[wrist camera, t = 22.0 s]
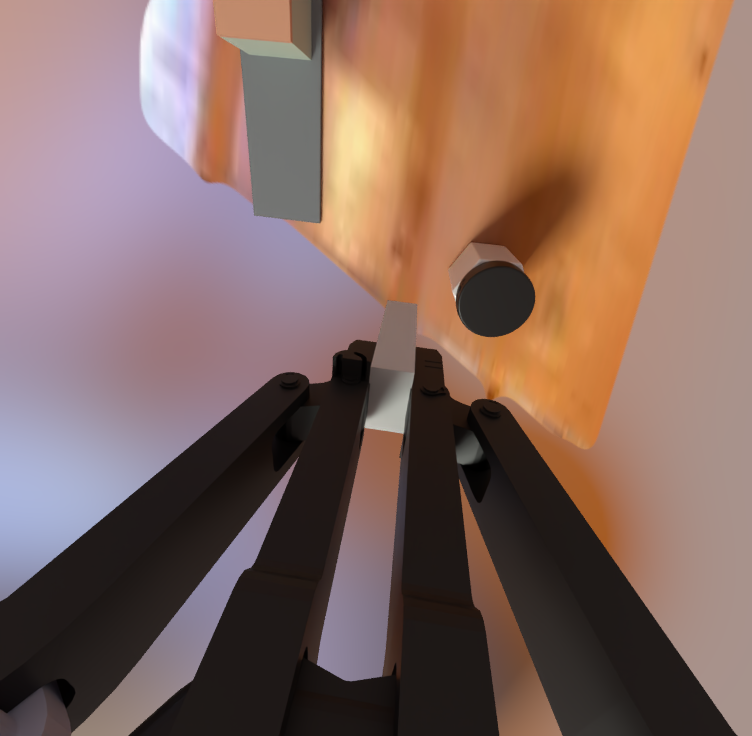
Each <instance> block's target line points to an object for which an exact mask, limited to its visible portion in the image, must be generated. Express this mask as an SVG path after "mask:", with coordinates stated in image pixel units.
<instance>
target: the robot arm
mask: <svg viewBox="0 0 752 736" xmlns="http://www.w3.org/2000/svg"><path fill="white" fill-rule="evenodd" d="M416 325H417V304H412V303H405V302H397V301H389V300H388V301H387V305H386V309H385V313H384V317H383V321H382V324H381V328H380V333H379V336H378V340H377V342H370V341H362V340H356V341H354V342H353V343H351V344H350V345H349V348H348V350H344V351H340V352H338V353H336V354H335V355H334V356H333V371H332V378H331V381H328V382H325V383H318V384H317V383H316V384H309V380H308V378H307V377H306V376H304V375H302V374H300V373H294V372H287V373H283V374H279V375H277V376H275V377H273V378H272V379H271V380H270V381H268V382H267V383H266V384H265V385H264V386H262V387H261V388H260V389H259V390H258V391H256V392H255V393H254V394H253V395H251V396H250V397H249V398H248V399H247V400H245V401H244V402H243V403H242V404H241V405H239V406H238V407H237V408H236V409H235V410H233V411H232V412H231V413H230V414H229V415H227V416H226V417H225V418H224V419H223V420H221V421H220V422H219V423H218V424H216V425H215V426H214V427H213V428H212V429H211V430H209V431H208V432H207V433H206V434H204V435H203V436H202V437H201V438H200V439H198V440H197V441H196V442H195V443H194V444H192V445H191V446H190V447H189V448H188V449H186V450H185V451H184V452H183V453H181V454H180V455H179V456H178V457H177V458H175V459H174V460H173V461H172V462H171V463H169V464H168V465H167V466H166V467H165V468H163V469H162V470H161V471H160V472H158V473H157V474H156V475H155V476H154V477H152V478H151V479H150V480H149V481H148V482H146V483H145V484H144V485H143V486H142V487H140V488H139V489H138V490H137V491H135V492H134V493H133V494H132V495H131V496H129V497H128V498H127V499H126V500H125V501H123V502H122V503H121V504H120V505H119V506H117V507H116V508H115V509H114V510H113V511H111V512H110V513H109V514H108V515H106V516H105V517H104V518H103V519H102V520H100V521H99V522H98V523H97V524H96V525H94V526H93V527H92V528H91V529H90V530H88V531H87V532H86V533H85V534H83V535H82V536H81V537H80V538H79V539H77V540H76V541H75V542H74V543H73V544H71V545H70V546H69V547H68V548H67V549H65V550H64V551H63V552H62V553H61V554H59V555H58V556H57V557H56V558H54V559H53V560H52V561H51V562H50V563H48V564H47V565H46V566H45V567H44V568H42V569H41V570H40V571H39V572H38V573H37V574H35V575H34V576H33V577H32V578H30V579H29V580H28V581H27V582H26V583H24V584H23V585H22V586H21V587H19V588H18V589H17V590H16V591H15V592H13V593H12V594H11V595H10V596H9V597H7V598H6V599H4V600H2V601H0V736H71V733H72V732H73V731H74V730H75V729H76V728H77V727H78V726H80V725H81V724H82V723H83V722H84V721H85V720H86V719H87V718H88V717H89V716H90V715H91V714H92V713H93V712H94V711H95V709H97V708H98V706H99V705H100V704H101V703H102V702H103V701H104V700H105V699H106V698H107V697H108V696H109V695H110V694H111V693H112V692H113V691H114V690H115V689H116V688H117V686H118V685H119V684H120V683H121V682H122V680H123V679H124V678H125V677H126V676H127V674H128V673H129V672H130V671H131V670H132V668H133V667H134V666H135V665H136V664H137V663H138V661H139V660H140V659H141V658H142V656H143V655H144V653H146V651H147V650H148V649H149V647H150V646H151V645H152V644H153V642H154V641H155V640H156V638H157V637H158V636H159V635H160V633H161V632H162V631H163V630H164V628H165V627H166V626H167V624H168V623H169V622H170V620H171V619H172V618H173V617H174V615H175V614H176V613H177V612H178V610H179V609H180V608H181V607H182V605H183V604H184V603H185V601H186V600H187V599H188V598H189V596H190V595H191V594H192V592H193V591H194V590H195V589H196V587H197V586H198V585H199V583H200V582H201V581H202V580H203V578H204V577H205V576H206V574H207V573H208V572H209V571H210V570H211V568H212V567H213V566H214V564H215V563H216V562H217V561H218V559H219V558H220V557H221V555H222V554H223V553H224V552H225V550H226V549H227V548H228V546H229V545H230V544H231V542H232V541H233V540H234V539H235V538H236V536H237V535H238V533H239V532H240V531H241V530H242V529H243V527H244V526H245V525H246V523H247V522H248V521H249V520H250V518H251V517H252V516H253V515H254V513H255V512H256V511H257V509H258V508H259V507H260V506H261V504H262V503H263V502H264V500H265V499H266V498H267V497H268V495H269V494H270V493H271V491H272V490H273V489H274V488H275V486H276V485H277V484H278V483H279V481H280V480H281V479H282V478H283V476H284V475H285V474H286V472H287V471H288V470H289V469H290V467H291V466H292V465H293V463H294V462H295V461H296V460H297V458H298V457H299V458H298V460H297V463H296V465H295V467H294V470H293V472H292V475H291V477H290V479H289V482H288V484H287V487H286V489H285V492H284V494H283V496H282V499H281V501H280V504H279V506H278V508H277V511H276V513H275V516H274V518H273V521H272V523H271V525H270V528H269V530H268V533H267V535H266V537H265V540H264V542H263V545H262V547H261V550H260V552H259V554H258V556H257V559H256V561H255V563H254V565H253V566H252V567H251V568H249V569H246V570H244V572H243V573H242V574H241V576H240V577H239V579H238V581H237V583H236V585H235V587H234V589H233V591H232V594H231V595H230V598H229V600H228V602H227V604H226V607H225V609H224V611H223V614H222V616H221V618H220V620H219V623H218V625H217V627H216V629H215V632H214V634H213V636H212V639H211V641H210V643H209V645H208V648H207V650H206V652H205V654H204V657H203V659H202V661H201V663H200V666H199V668H198V670H197V673H196V675H195V677H194V679H193V681H191V682H190V683H188V684H187V685H186V686H184V687H183V688H182V689H180V690H179V691H178V692H177V693H175V694H174V695H173V696H172V697H171V698H170V699H168V700H167V701H166V702H165V703H164V704H163V705H162V706H161V707H160V708H158V709H157V710H156V711H155V712H154V713H153V714H152V715H151V716H150V717H148V718H147V719H146V720H145V721H144V722H143V723H142V724H141V725H140V726H138V727H137V728H136V729H135V730H134V731H133V732H132V733H131V734H130V735H129V736H499V730H498V722H497V715H496V707H495V700H494V692H493V684H492V677H491V669H490V662H489V653H488V646H487V638H486V631H485V626H484V621H483V617H482V615H481V612H480V610H478V609H477V608H476V607H474V604H473V600H472V594H471V586H470V577H469V567H468V558H467V549H466V540H465V531H464V521H463V513H462V503H461V494H460V484H459V479H460V482H461V484H462V486H463V489H464V492H465V494H466V497H467V499H468V502H469V504H470V507H471V509H472V512H473V514H474V517H475V519H476V521H477V524H478V526H479V529H480V531H481V534H482V536H483V539H484V541H485V544H486V546H487V549H488V551H489V554H490V556H491V559H492V561H493V564H494V566H495V569H496V571H497V574H498V576H499V579H500V581H501V583H502V586H503V589H504V591H505V593H506V596H507V598H508V601H509V604H510V606H511V609H512V611H513V613H514V616H515V618H516V621H517V623H518V626H519V628H520V631H521V633H522V636H523V638H524V641H525V643H526V646H527V648H528V651H529V653H530V656H531V658H532V661H533V663H534V666H535V668H536V671H537V673H538V676H539V678H540V681H541V683H542V686H543V688H544V691H545V693H546V695H547V698H548V700H549V703H550V705H551V708H552V710H553V713H554V715H555V718H556V720H557V723H558V725H559V728H560V730H561V732H562V735H563V736H737V735H736V734H735V733H734V731H733V730H732V729H731V727H730V726H729V724H728V723H727V721H726V720H725V719H724V717H723V716H722V714H721V713H720V711H719V710H718V709H717V707H716V706H715V704H714V703H713V701H712V700H711V699H710V697H709V696H708V694H707V693H706V692H705V690H704V689H703V687H702V686H701V684H700V683H699V681H698V680H697V679H696V677H695V676H694V674H693V673H692V671H691V670H690V669H689V667H688V666H687V664H686V663H685V661H684V660H683V659H682V657H681V656H680V654H679V653H678V651H677V650H676V649H675V647H674V646H673V644H672V643H671V641H670V640H669V638H668V637H667V636H666V634H665V633H664V631H663V630H662V629H661V627H660V626H659V624H658V623H657V621H656V620H655V618H654V617H653V616H652V614H651V613H650V611H649V610H648V608H647V607H646V606H645V604H644V603H643V601H642V600H641V599H640V597H639V596H638V594H637V593H636V591H635V590H634V588H633V587H632V586H631V584H630V583H629V582H628V580H627V578H626V577H625V576H624V574H623V573H622V571H621V570H620V568H619V567H618V566H617V564H616V563H615V561H614V560H613V559H612V557H611V556H610V554H609V553H608V551H607V550H606V548H605V547H604V545H603V544H602V543H601V541H600V540H599V538H598V537H597V536H596V534H595V533H594V531H593V530H592V528H591V527H590V526H589V524H588V523H587V521H586V520H585V518H584V517H583V515H582V514H581V513H580V511H579V510H578V508H577V507H576V505H575V504H574V503H573V501H572V500H571V498H570V497H569V495H568V494H567V493H566V491H565V490H564V488H563V487H562V485H561V484H560V483H559V481H558V480H557V478H556V477H555V475H554V474H553V473H552V471H551V470H550V468H549V467H548V465H547V464H546V463H545V461H544V460H543V458H542V457H541V456H540V454H539V453H538V451H537V450H536V448H535V447H534V445H533V444H532V443H531V441H530V440H529V438H528V437H527V435H526V434H525V433H524V431H523V430H522V428H521V427H520V425H519V424H518V422H517V421H516V420H515V418H514V417H513V415H512V414H511V412H510V411H509V410H508V409H507V408H506V407H505V406H503V405H502V404H500V403H498V402H496V401H493V400H489V399H478V400H475V401H474V402H472V404H471V406H468V405H465V404H462V403H460V402H458V401H456V400H454V399H452V398H451V397H450V393H449V391H448V389H447V388H446V387H445V385H444V374H443V364H442V356H441V355H440V353H439V352H438V351H437V350H434V349H427V348H420V347H416ZM364 426H365V428H371V429H378V430H384V431H390V432H397V433H403V434H404V435H403V441H402V446H401V452H400V458H401V464H400V476H399V488H398V501H397V514H396V527H395V539H394V553H393V565H392V577H391V591H390V603H389V616H388V617H389V618H388V629H387V641H386V652H385V660H384V667H383V675H382V677H377V678H371V679H364V680H358V681H345V680H342V679H341V678H339V677H337V676H335V675H334V674H332V673H330V672H328V671H327V670H325V669H323V668H321V667H320V666H318V665H317V660H318V653H319V646H320V640H321V635H322V630H323V625H324V620H325V616H326V611H327V606H328V602H329V597H330V592H331V587H332V582H333V578H334V573H335V568H336V563H337V559H338V554H339V550H340V545H341V540H342V536H343V531H344V526H345V521H346V517H347V512H348V506H349V503H350V498H351V493H352V488H353V484H354V479H355V474H356V469H357V465H358V459H359V455H360V451H361V446H362V441H363V436H364Z"/></svg>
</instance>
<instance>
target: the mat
mask: <svg viewBox="0 0 752 736" xmlns="http://www.w3.org/2000/svg"><path fill="white" fill-rule="evenodd" d="M311 42H312V60H302V59H291V58H280V57H270V56H259V55H249V54H247V53H246V52H244V51H243V50H241V49H240V54H241V66H242V77H243V89H244V101H245V113H246V125H247V136H248V148H249V160H250V172H251V184H252V196H253V207H254V215H255V216H263V217H272V218H280V219H288V220H296V221H304V222H312V223H320V218H321V103H322V0H311Z"/></svg>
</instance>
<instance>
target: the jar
mask: <svg viewBox="0 0 752 736" xmlns="http://www.w3.org/2000/svg"><path fill="white" fill-rule="evenodd" d="M448 273H449V278H450V282H451V288H452V292H453V295H454V298H455V301H456V308H457V312H458V315H459V317H460V319H461V321H462V323H463V324H464V325H465V326H466V327H467V328H468V329H469V330H470V331H472V332H473V333H475V334H478V335H480V336H485V337H498V336H503V335H506V334H509V333H511V332H513V331H515V330H516V329H518V328H519V327H520V326H521V325H522V324H524V323H525V321H526V320H527V319H528V318H529V316H530V314H531V312H532V310H533V307H534V304H535V290H534V287H533V284H532V282H531V281H530V279H529V278H528V277H527V275H526V274H525V273H524V269H523V266H522V264H521V263H520V261H519V260H518V259H517V258H516V257H515V256H514V255H513V254H512V253H511V252H510V251H509V250H508V249H507V248H506V247H505V246H500V245H491V244H482V243H474V242H471V243H469V245H468V246H467V247H466V248H465V250H464V251H463V252H462V253H461V254H460V256H459V257H458V258H457V259H456V260H455V262H454V263H453V264H452V265H451V266H450V268H449V269H448Z"/></svg>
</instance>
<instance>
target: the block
mask: <svg viewBox="0 0 752 736" xmlns="http://www.w3.org/2000/svg"><path fill="white" fill-rule="evenodd" d="M213 5H214V14H215V23H216V32H217V35H218V36H220V37H221V38H223V39H224V40H226V41H228V42H229V43H231V44H233V45H234V46H236V47H238V48H239V49H241V50H243V51H244V52H246V53H247V54H249V55H259V56H270V57H280V58H291V59H302V60H312V42H311V0H213Z"/></svg>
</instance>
